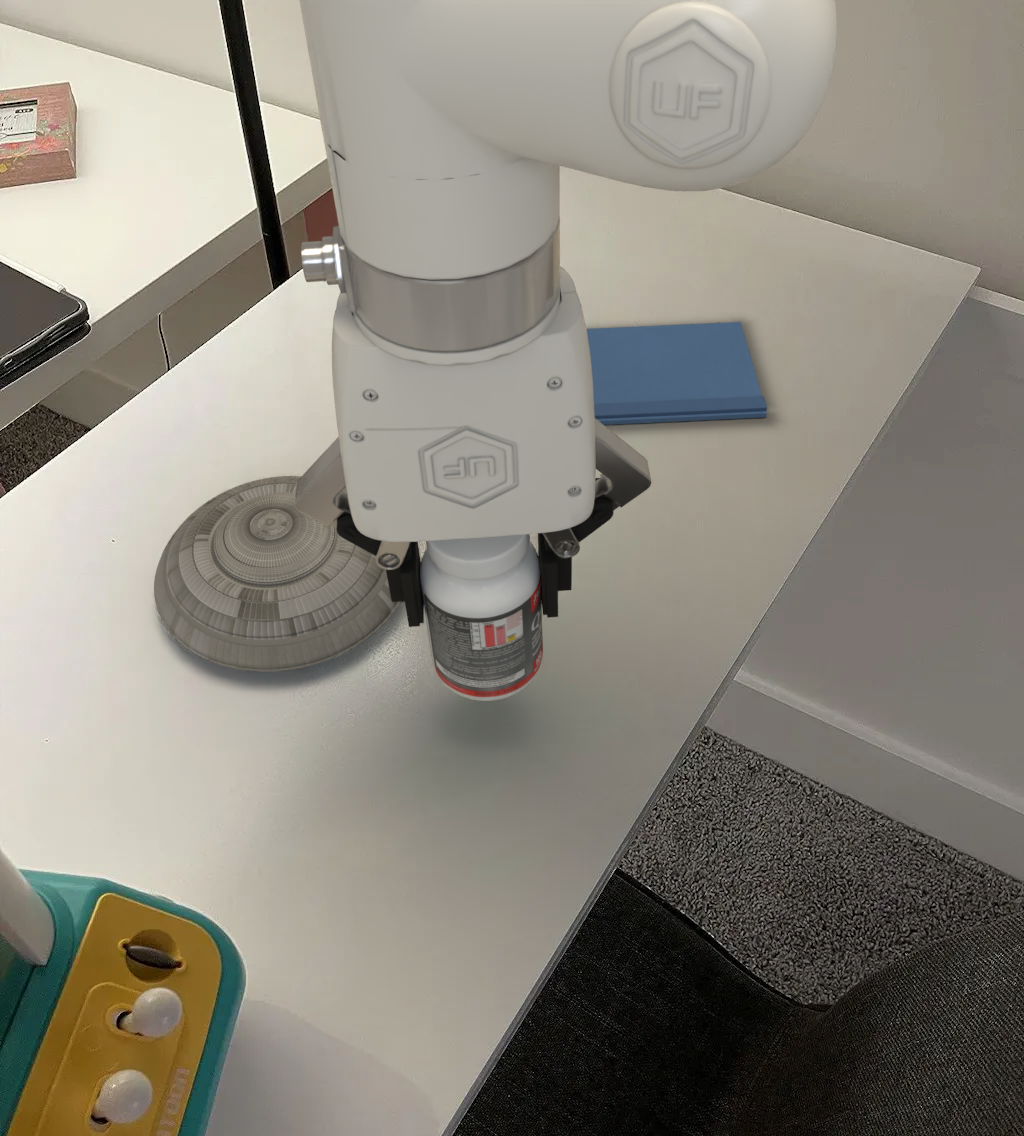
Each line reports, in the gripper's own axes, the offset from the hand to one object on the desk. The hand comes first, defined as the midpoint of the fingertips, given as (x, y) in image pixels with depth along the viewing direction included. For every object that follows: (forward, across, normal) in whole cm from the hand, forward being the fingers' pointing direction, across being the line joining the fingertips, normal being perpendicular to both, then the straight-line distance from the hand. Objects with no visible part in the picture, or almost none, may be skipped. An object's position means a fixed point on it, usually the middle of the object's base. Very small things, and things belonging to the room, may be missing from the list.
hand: (482, 597), depth 54 cm
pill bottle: (+5, 0, 0) cm, 5 cm away
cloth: (+10, +13, +28) cm, 33 cm away
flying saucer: (+10, -12, +10) cm, 18 cm away
